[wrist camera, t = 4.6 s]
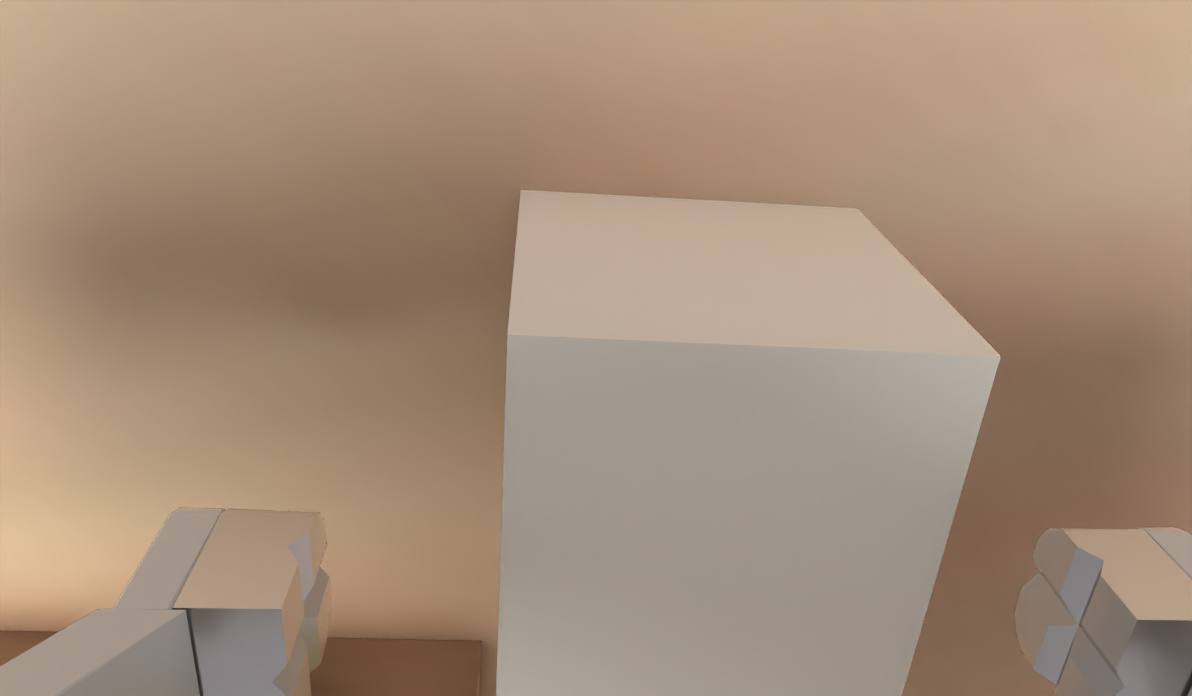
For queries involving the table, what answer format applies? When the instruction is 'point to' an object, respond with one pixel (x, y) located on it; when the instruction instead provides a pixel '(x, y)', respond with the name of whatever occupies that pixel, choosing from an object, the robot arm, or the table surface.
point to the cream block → (724, 449)
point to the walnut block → (359, 665)
